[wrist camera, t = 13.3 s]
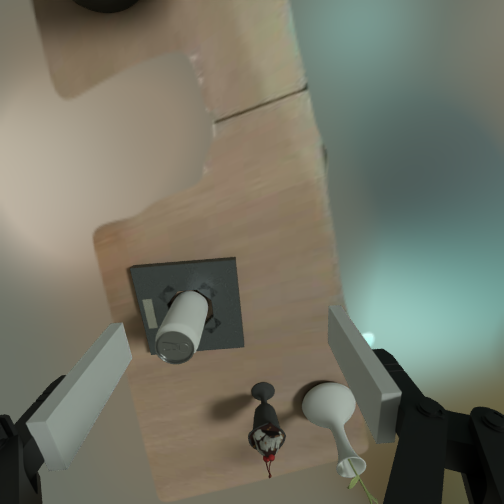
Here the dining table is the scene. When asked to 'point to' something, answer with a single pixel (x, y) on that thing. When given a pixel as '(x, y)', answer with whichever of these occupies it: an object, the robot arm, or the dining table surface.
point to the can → (182, 328)
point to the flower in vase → (336, 425)
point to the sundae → (265, 425)
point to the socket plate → (192, 278)
